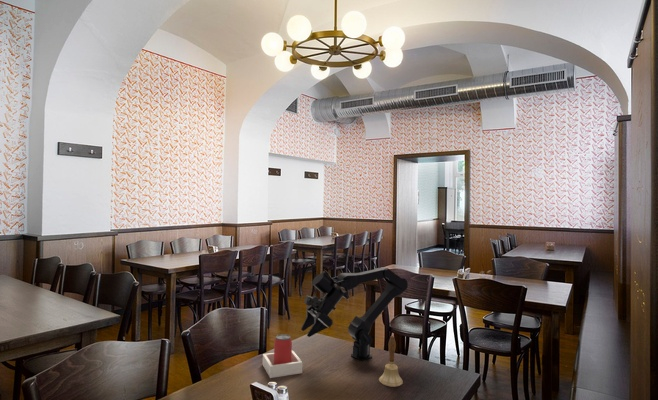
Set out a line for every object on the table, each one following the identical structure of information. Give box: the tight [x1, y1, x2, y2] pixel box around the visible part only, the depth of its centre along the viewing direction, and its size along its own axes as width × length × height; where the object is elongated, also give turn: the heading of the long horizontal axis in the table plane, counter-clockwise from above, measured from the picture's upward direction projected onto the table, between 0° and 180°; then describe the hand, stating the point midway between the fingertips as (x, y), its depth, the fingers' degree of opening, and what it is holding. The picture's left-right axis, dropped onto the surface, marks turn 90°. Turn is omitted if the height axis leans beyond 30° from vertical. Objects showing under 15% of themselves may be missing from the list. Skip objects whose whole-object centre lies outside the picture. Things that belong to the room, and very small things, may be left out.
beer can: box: [273, 333, 293, 365], centre depth 144 cm, size 7×7×12 cm
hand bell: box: [378, 335, 404, 388], centre depth 135 cm, size 8×8×16 cm
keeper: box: [262, 350, 303, 379], centre depth 143 cm, size 12×12×4 cm
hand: (304, 333), depth 147 cm, fingers open, 9 cm apart
